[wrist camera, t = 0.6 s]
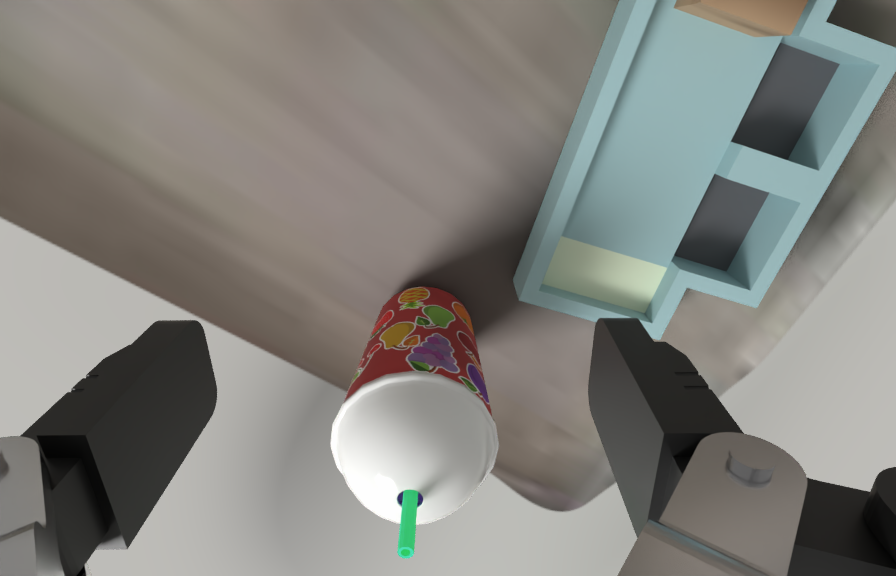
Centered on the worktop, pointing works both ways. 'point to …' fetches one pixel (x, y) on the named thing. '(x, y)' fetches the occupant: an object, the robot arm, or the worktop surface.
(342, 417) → the smoothie
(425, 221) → the worktop surface
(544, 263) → the box
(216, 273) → the worktop surface
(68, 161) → the worktop surface
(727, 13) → the walnut block
